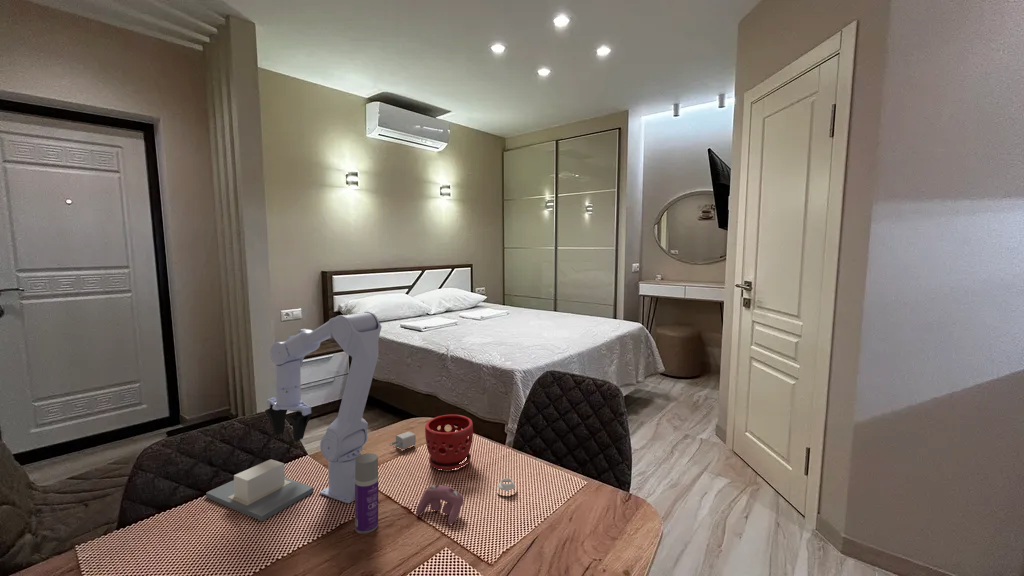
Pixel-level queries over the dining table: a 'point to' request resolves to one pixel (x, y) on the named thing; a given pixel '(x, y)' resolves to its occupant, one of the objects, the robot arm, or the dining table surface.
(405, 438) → the usb wall charger
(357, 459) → the container
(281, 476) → the block
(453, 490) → the video game controller
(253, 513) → the stub plate
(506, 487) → the grey rounded piece
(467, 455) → the plant pot
